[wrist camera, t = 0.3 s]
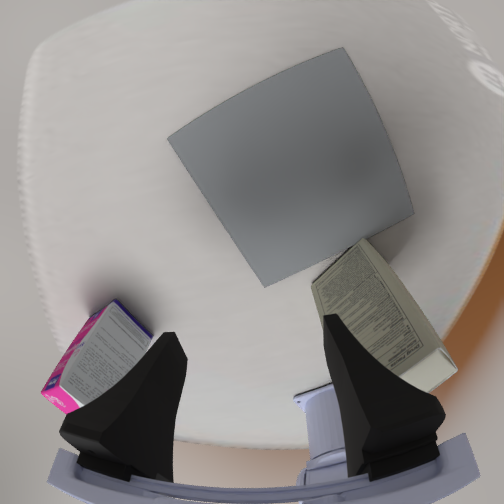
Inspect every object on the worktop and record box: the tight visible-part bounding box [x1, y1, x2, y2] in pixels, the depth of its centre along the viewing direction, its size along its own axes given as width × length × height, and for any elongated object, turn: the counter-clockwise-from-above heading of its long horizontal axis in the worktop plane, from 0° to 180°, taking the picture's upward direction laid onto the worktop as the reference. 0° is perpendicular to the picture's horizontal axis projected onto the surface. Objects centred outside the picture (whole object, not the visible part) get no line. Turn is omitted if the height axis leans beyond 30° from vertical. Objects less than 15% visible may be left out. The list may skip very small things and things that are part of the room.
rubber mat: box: [167, 47, 414, 288], centre depth 19 cm, size 14×14×1 cm
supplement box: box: [41, 299, 153, 414], centre depth 21 cm, size 6×6×12 cm
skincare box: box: [311, 238, 458, 393], centre depth 17 cm, size 6×4×12 cm
